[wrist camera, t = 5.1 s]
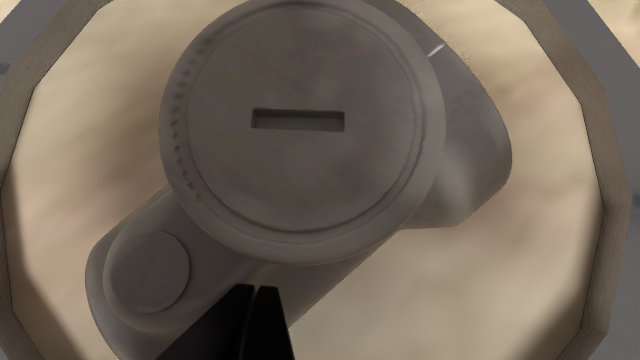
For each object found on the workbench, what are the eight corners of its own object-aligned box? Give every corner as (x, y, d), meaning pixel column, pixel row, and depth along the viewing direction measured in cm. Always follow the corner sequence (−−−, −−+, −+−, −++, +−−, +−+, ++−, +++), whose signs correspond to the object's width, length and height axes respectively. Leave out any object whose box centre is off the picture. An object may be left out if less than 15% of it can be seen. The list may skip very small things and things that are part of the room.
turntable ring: (777, 160, 17) (820, 146, 15) (266, 874, 10) (257, 967, 9) (318, -159, 24) (318, -189, 22) (-162, 132, 17) (-205, 116, 16)
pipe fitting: (345, 68, 18) (358, -180, 8) (464, 200, 16) (677, 109, 6) (136, 230, 16) (-176, 191, 6) (243, 386, 15) (56, 651, 5)
